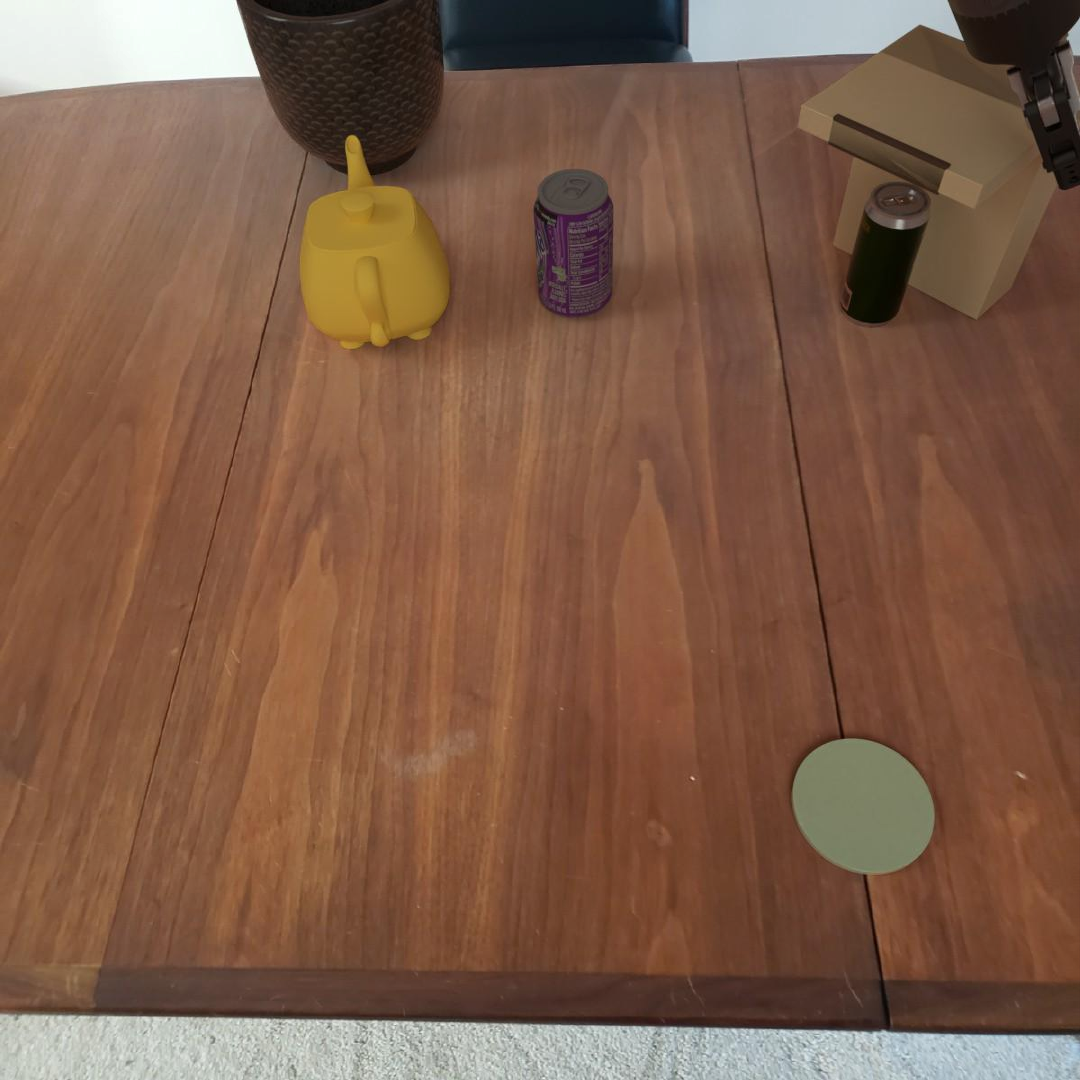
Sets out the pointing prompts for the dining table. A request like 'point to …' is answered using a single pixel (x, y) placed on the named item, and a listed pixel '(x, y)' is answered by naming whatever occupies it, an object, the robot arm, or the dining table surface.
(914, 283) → the lidded cardboard box
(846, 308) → the beer can
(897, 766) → the coaster
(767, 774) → the dining table surface
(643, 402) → the dining table surface
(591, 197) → the beverage can
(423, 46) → the planter
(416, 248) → the teapot
